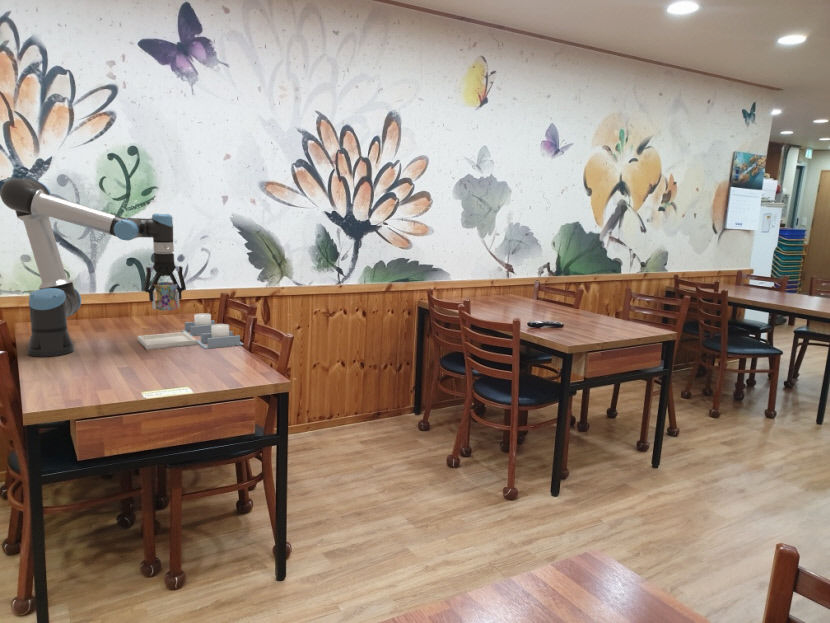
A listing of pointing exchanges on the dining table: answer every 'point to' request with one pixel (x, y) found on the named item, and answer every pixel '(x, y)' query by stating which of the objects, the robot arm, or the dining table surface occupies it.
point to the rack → (210, 336)
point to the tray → (166, 340)
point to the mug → (166, 296)
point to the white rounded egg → (219, 330)
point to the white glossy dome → (202, 319)
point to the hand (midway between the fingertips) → (165, 308)
